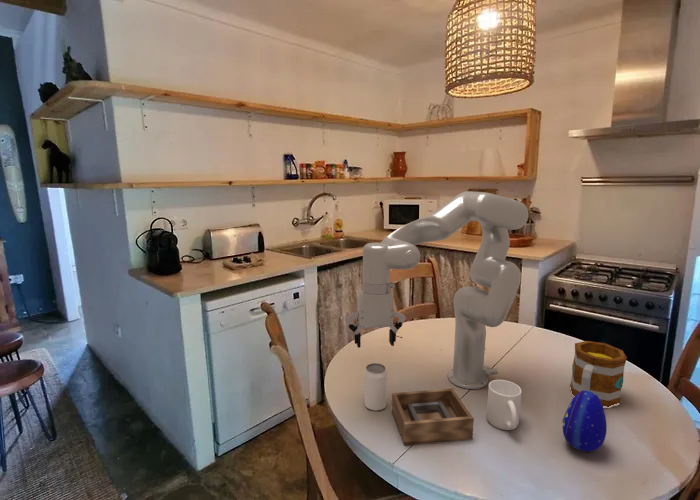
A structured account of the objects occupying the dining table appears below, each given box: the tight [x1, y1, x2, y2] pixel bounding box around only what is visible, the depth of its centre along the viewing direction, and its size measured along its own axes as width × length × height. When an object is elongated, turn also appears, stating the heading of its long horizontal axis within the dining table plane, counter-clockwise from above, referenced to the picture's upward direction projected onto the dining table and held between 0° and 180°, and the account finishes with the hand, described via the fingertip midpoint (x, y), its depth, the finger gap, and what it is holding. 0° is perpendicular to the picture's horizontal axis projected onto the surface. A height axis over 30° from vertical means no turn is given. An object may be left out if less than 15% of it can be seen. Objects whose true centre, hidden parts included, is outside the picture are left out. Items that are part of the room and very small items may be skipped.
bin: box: [391, 388, 475, 447], centre depth 105 cm, size 18×14×6 cm
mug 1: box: [486, 379, 522, 431], centre depth 104 cm, size 12×8×10 cm
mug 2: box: [569, 340, 628, 407], centre depth 115 cm, size 20×14×15 cm
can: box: [364, 362, 388, 412], centre depth 113 cm, size 6×6×12 cm
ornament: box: [562, 391, 608, 453], centre depth 95 cm, size 11×9×15 cm
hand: (375, 344), depth 110 cm, fingers open, 9 cm apart
